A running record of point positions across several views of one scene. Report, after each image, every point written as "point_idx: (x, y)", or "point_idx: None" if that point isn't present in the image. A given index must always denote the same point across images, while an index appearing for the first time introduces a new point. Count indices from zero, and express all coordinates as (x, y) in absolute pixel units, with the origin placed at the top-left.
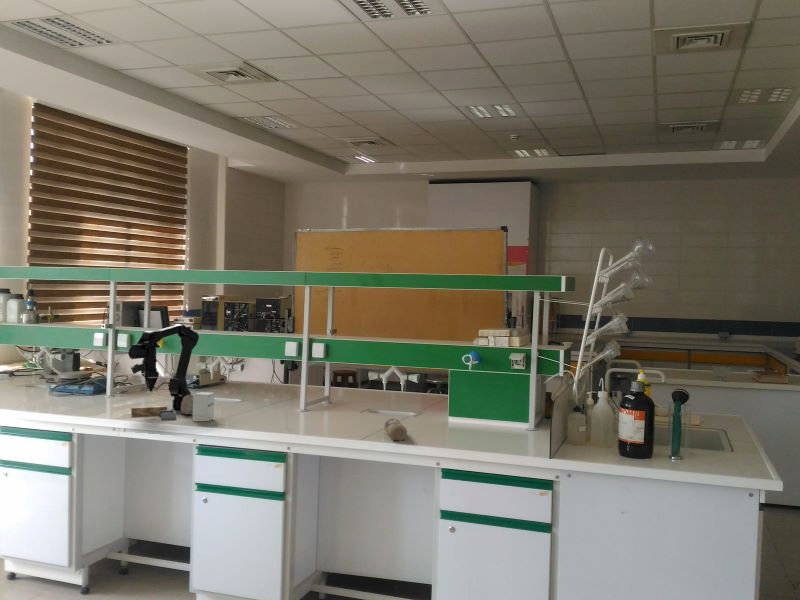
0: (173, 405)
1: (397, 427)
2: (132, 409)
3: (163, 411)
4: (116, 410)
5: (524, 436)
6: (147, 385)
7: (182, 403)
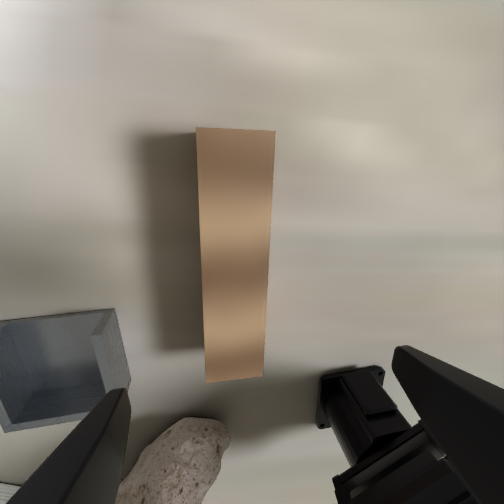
0: (349, 388)
1: None
2: (196, 135)
3: (98, 356)
4: (474, 41)
5: None
6: (433, 383)
7: (154, 487)
